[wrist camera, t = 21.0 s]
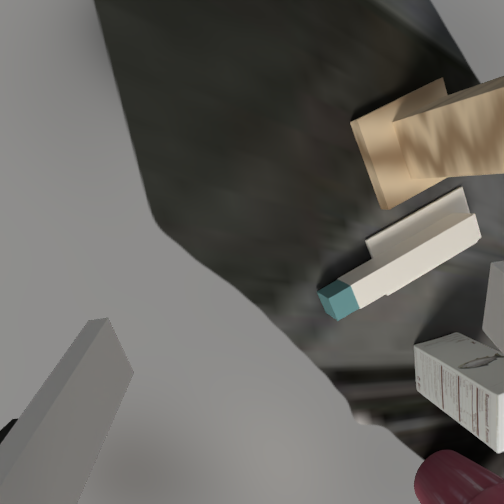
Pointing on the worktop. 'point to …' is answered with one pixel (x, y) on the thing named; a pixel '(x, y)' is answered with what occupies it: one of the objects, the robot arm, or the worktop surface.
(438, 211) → the notepad
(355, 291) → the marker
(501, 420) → the supplement box
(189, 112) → the worktop surface
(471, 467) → the plant pot
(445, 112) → the stand
